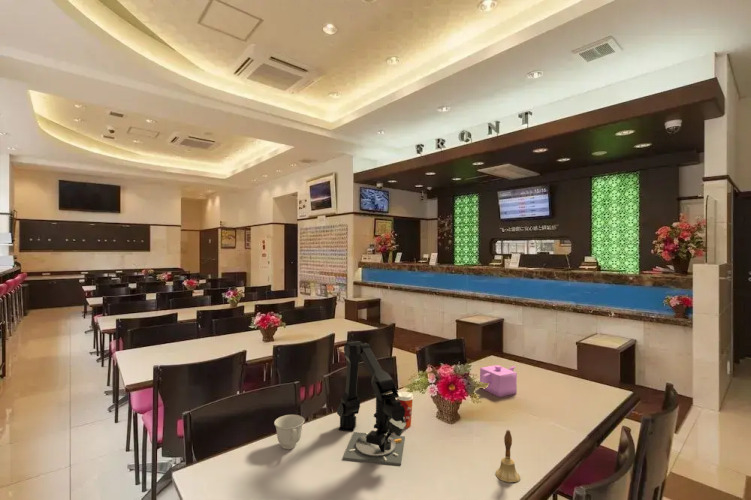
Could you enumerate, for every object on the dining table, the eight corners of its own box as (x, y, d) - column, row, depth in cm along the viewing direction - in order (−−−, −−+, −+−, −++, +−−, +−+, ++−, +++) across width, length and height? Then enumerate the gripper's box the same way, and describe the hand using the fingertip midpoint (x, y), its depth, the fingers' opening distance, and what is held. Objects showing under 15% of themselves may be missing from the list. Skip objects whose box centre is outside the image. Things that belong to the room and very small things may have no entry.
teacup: (279, 460, 142) (279, 433, 142) (270, 442, 155) (271, 417, 155) (310, 452, 147) (310, 427, 147) (299, 435, 160) (299, 412, 160)
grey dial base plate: (343, 459, 143) (343, 454, 143) (353, 433, 162) (353, 429, 162) (400, 465, 139) (400, 460, 139) (404, 438, 159) (404, 434, 159)
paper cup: (412, 429, 166) (412, 398, 166) (394, 428, 168) (395, 396, 168) (413, 421, 174) (414, 391, 174) (397, 420, 176) (397, 390, 176)
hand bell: (491, 469, 137) (492, 426, 137) (513, 468, 138) (514, 425, 138) (501, 483, 129) (501, 437, 129) (524, 482, 130) (525, 436, 130)
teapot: (525, 391, 213) (526, 366, 213) (492, 398, 202) (492, 372, 202) (505, 382, 227) (505, 359, 227) (473, 389, 216) (473, 364, 215)
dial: (347, 446, 150) (347, 436, 150) (372, 431, 162) (373, 422, 162) (378, 461, 140) (378, 450, 140) (403, 444, 152) (403, 434, 152)
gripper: (394, 425, 131) (393, 470, 131) (411, 405, 148) (411, 444, 148) (365, 419, 136) (365, 462, 136) (385, 400, 153) (385, 438, 153)
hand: (383, 451), depth 143 cm, fingers closed
